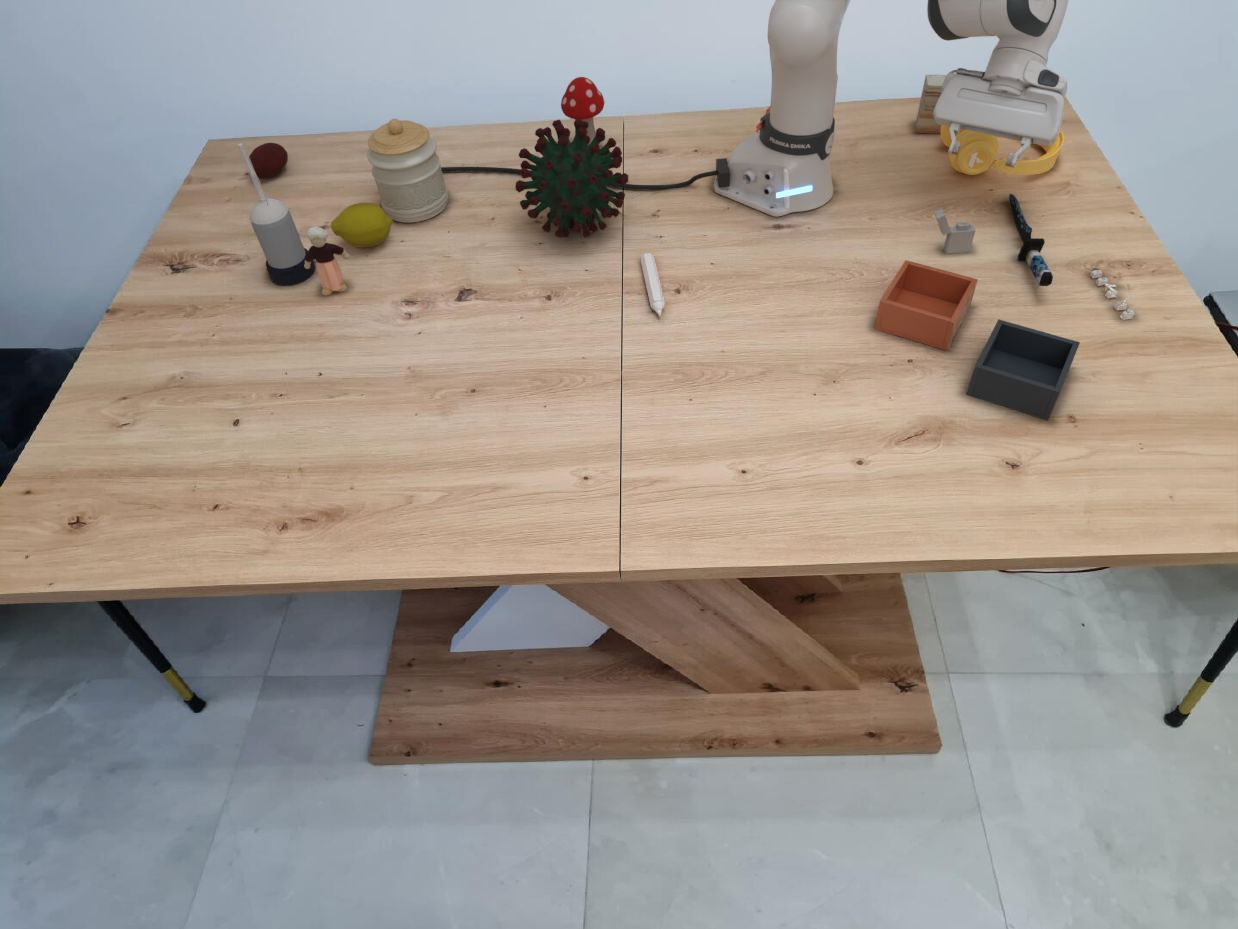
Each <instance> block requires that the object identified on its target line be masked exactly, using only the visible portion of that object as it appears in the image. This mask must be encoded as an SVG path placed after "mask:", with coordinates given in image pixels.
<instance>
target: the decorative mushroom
mask: <svg viewBox="0 0 1238 929" xmlns="http://www.w3.org/2000/svg"><path fill="white" fill-rule="evenodd" d="M604 107H605V98H604V95H603V93H602V92H601V91H600V90H599V89H598V87H597V86H596V84H595V83H594V81H592V80H591V79H590V78H588V77H585V76H578V77H575V78H574V79H572V80H571V81H570V82H569V83H568V85H567V87H566V90H565V92H564V94H563V96H562V97H561V102H560V108H561V112H562V114H564V116H566V117H568V119H572V120H574V121H575V120H577V119H578V120H582V121H585V122H588V128H587V131H588V132H587V135H588V136H589V137H590V142H589V144H590V143H591V142H592V140H593V139H594V137H595V135H596V128H595V122H594V117H597V116H598V115H599V114H601V112H602V111H603V110H604ZM589 144H588V145H589ZM599 147H600V148H601V143H600V144H599Z"/></svg>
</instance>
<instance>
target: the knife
mask: <svg viewBox="0 0 1238 929" xmlns="http://www.w3.org/2000/svg"><path fill="white" fill-rule="evenodd" d="M1008 202H1009V206H1010V210H1011V214H1012V216H1013V221H1014V224H1015V226H1016V229H1017V231H1018V234H1019V237H1020V240H1021V242H1022V245H1021V247H1020V250H1019V253H1018V255H1017V260H1018V261H1026V262H1027V264H1028V267H1029V269H1030V271H1031V273H1032V276H1033V278H1034V280H1035V282H1036V285H1037V286H1038V287H1049V286H1050V285H1052V283H1053V279H1054V276H1053V273H1052V271H1051V269H1050V268H1049V266H1048V265H1047V263H1046V261H1045V260H1044V258H1043V256H1042V255H1041V251H1042V249H1043V247H1044V245H1045V243H1046V242H1045V239H1044V238H1039V237H1038V238H1036V237H1035V238H1032V233H1033V228H1032V227H1030V226H1029V225H1028V223H1027V221H1026V218H1025V215H1024V214H1023V211H1022V208H1021V205H1020V203H1019V200H1018V198H1017V197H1016V196H1015V194H1013V193H1009V194H1008Z"/></svg>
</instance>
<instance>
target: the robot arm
mask: <svg viewBox="0 0 1238 929" xmlns="http://www.w3.org/2000/svg"><path fill="white" fill-rule="evenodd" d="M850 3H851V0H775V1H774V3H773V5H772V7H771V9H770V11H769V16H768V23H767V43H768V48H769V59H770V60H769V61H770V69H771V90H770V106H768V108H767V109H766V110H765V114H763V115H762V117H761V118H760V120H759V122H758V123H757V125H756V126H755V129H756V130H755V133H754V134H752V135H750V136H748V137H746V138H745V139H743V140H742V141H740V143H738V145H737V146H736V147H735V148H734V149H733V151H732V152H731V154H730V156H729V159H728V158H727V157H725V158H723V157H722V158H716V159H715V170H712V171H705V172H701V173H699V174H698V173H697V174H696V175H694V176H692V177H691V178H690V179H688V180H686V181H682V182H679V183H672V184H633V183H632V184H631V183H626V184H625V185H624V186H623V185H621V184H618V183H610V184H608V185H606V187H607V186H608V187H615V188H621V189H629V190H656V191H657V190H658V191H659V190H660V191H661V190H673V189H679V188H683V187H687V186H690V185H692V184H693V183H695V182H696V181H697V180H700V179H703V178H708V177H714V176H715V178H714V181H713V191H714V192H715V193H716V194H719V195H720V196H723V197H724V198H725V197H726V198H729V199H731V200H732V201H735V202H738V203H740V204H742V205H745V206H748V207H750V208H752V209H755V210H757V211H759V212H762V213H764V214H766V215H770V216H771V217H775V218H777V217H779V218H780V217H782V216H785V215H789V214H792V213H798V212H799V213H800V212H807V211H812V210H815V209H818V208H820V207H822V206H824V205H825V204H827V203H828V202H829V201H830V200H831V199H832V198H833V195H834V193H835V192H834V191H835V190H834V185H833V179H832V171H831V170H832V169H831V153H832V151H833V146H834V142H835V127H836V120H835V117H834V114H835V105H836V97H837V88H838V79H839V76H838V44H839V36H840V31H841V27H842V24H843V20H844V18H845V14H846V13H847V10H848V8H849V5H850ZM1068 4H1069V0H927V5H926V6H927V19H928V23H929V25H930V27H931V29H932V30H933V32H934V33H935V34H936V35H937V36H938V37H939V38H940V39H942V40H943V41H947V42H948V41H949V42H950V41H957V40H963V39H968V38H981V37H984V38H985V37H996V38H997V39H998V41H997V43H996V45H995V46H994V48H993V50H992V52H991V53H990V54H991V55H990V57H989V60H988V63H987V65H986V68H985V71H981V70H975V69H972V70H971V69H967V68H963V67H957V69H953V70H951V71H949V72H948V73H947V74H945V75H946V77H945V80H944V82H943V85H942V90H943V92H942V93H941V95H940V97H939V99H938V101H937V104H936V106H935V108H934V111H933V116H934V119H935V121H936V123H937V124H940V125H945V126H950V129H949V130H950V136H951V141H952V143H951V145H950V148H949V147H948V150H949V154H952V155H958V154H959V150H960V148H961V143H960V142H956V138H955V134H957V135H958V134H959V132H960V129H965V130H970V131H975V132H979V133H984V134H989V135H994V136H996V137H1000V138H1005V139H1010V140H1014V141H1019V142H1020V147H1019V149H1018V150H1016V151H1015V153H1012V152H1009V153H1008V154H1007V158H1006V159H1007V160H1006V163H1005V166H1009V167H1013V168H1014V167H1015V165H1016V163H1017V161H1019V159H1020V158H1021V157H1022V156H1023V155H1025V153H1027V152H1028V151H1029V150H1030V148H1031V147H1032V146H1031V145H1032V144H1034V145H1038V146H1040V145H1044V146H1051V145H1052V144H1054V143H1055V142H1056V140H1057V138H1058V135H1059V132H1060V131H1061V128H1062V124H1063V119H1064V113H1065V99H1064V98H1065V97H1066V94H1067V91H1068V81H1067V78H1066V77H1065V76H1064V75H1062V74H1060V73H1058V72H1056V71H1054V70H1053V69H1051V68H1049V67H1047V64H1048V61H1049V60H1048V59H1049V53H1050V50H1051V48H1052V46H1053V45H1054V43H1055V42H1056V40H1057V38H1058V36H1059V33H1060V31H1061V27H1062V24H1063V22H1064V18H1065V15H1066V13H1067V8H1068ZM441 169H442V173H445V172H496V173H508V174H509V173H510V174H520V171H521V169H522V168H510V167H498V166H497V167H496V166H443V167H442V166H441ZM528 170H529V171H532V170H530V169H528ZM532 172H534V171H532Z"/></svg>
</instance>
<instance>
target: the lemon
mask: <svg viewBox="0 0 1238 929" xmlns="http://www.w3.org/2000/svg"><path fill="white" fill-rule="evenodd" d="M393 222H394V220H393V219H391V218H390V217H388V216H387V215H386V213H385V211H384V209H383V208H382V206H379V205H378V204H375V203H374V202H373V203H372V202H358V203H354V204H352V205H351V204H350V205H349V206H347V207H345V209H343V210H342V211H341V212H340V213H339V214H337V216H336V217H335V218H334V219H333V220H332V221H331V222H330V227H331V230H332V232H333V234H334V235H335V236H337V237H340V238H341V239H342V240H343V241H344V242H345V243H347V244H349V245H351V246H354V247H356V248H357V247H358V248H371V247H375V246H378V245H379V244H381V243H383V242H384V241H385V240H386V239H387V238H388V236H389V234H390V232H391V227H392V225H393Z"/></svg>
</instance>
